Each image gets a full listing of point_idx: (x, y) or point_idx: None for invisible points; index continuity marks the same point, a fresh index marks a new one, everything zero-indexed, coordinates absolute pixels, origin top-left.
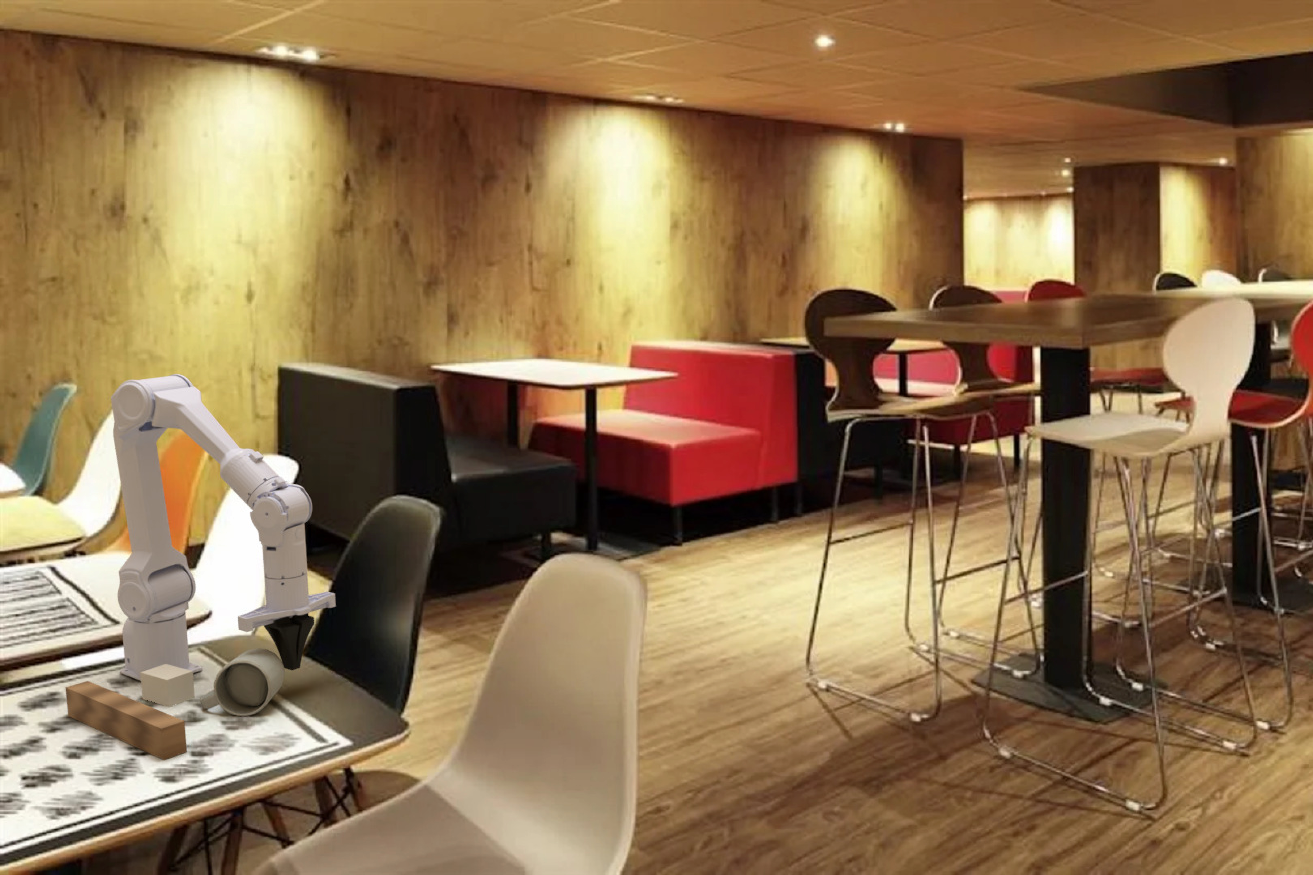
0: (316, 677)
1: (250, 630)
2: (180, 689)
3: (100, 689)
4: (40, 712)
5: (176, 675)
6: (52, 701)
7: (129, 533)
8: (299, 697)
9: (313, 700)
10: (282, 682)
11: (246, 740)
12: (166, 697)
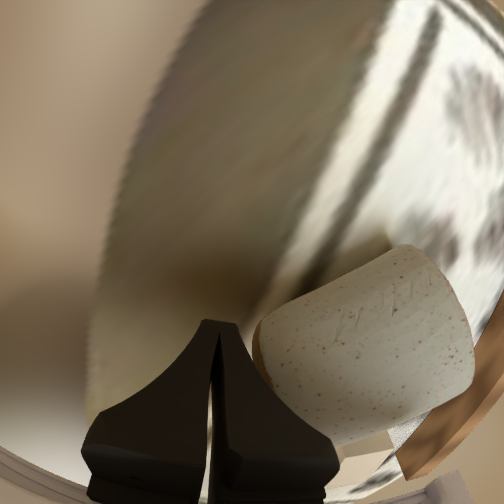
0: (119, 311)
1: (448, 475)
2: None
3: (436, 456)
4: None
5: (371, 455)
6: (375, 479)
7: None
8: (249, 250)
9: (250, 195)
10: (284, 307)
11: (487, 176)
12: None
